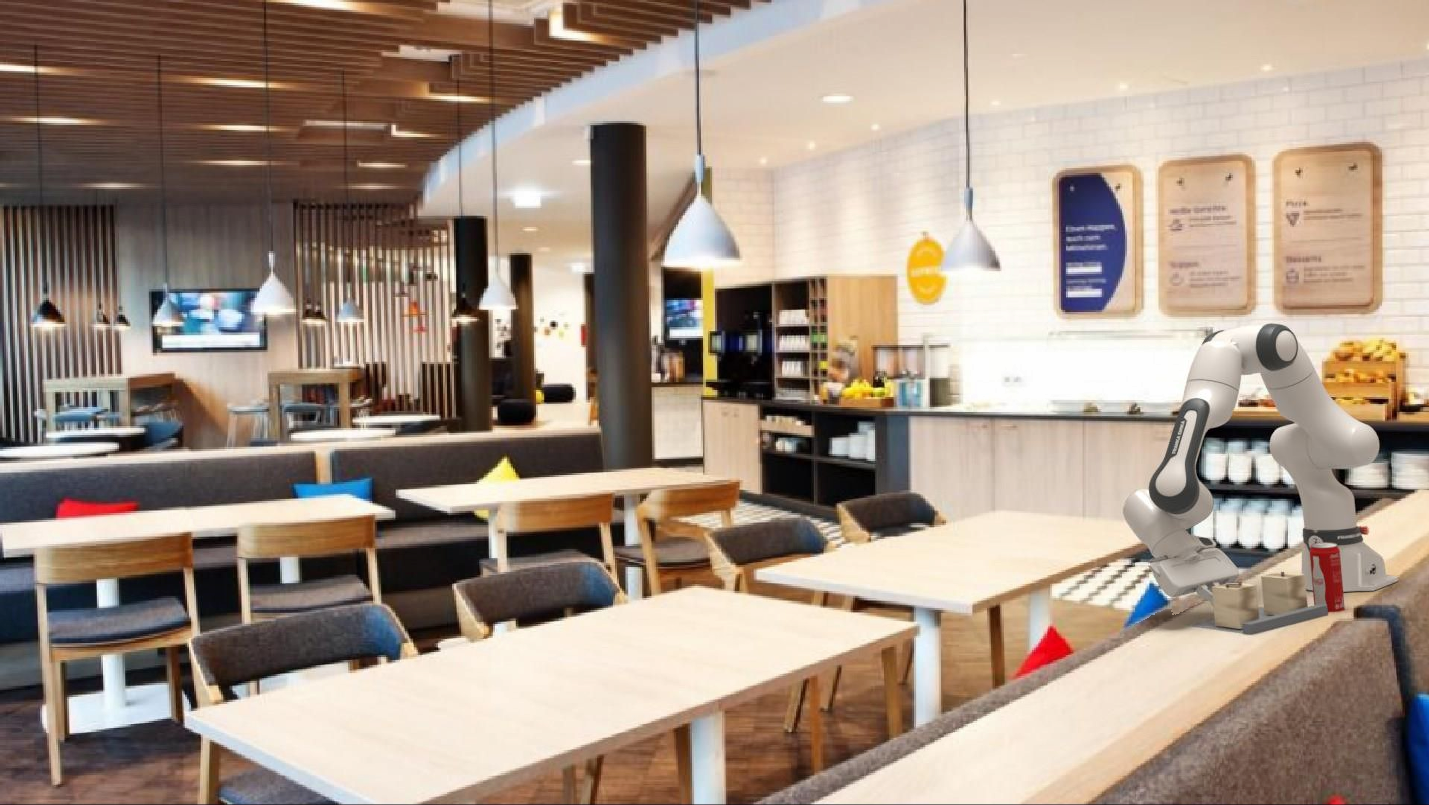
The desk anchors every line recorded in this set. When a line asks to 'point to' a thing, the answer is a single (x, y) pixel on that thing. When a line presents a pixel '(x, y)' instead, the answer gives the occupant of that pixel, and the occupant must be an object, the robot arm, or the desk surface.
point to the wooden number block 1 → (1283, 592)
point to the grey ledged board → (1269, 620)
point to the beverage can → (1327, 576)
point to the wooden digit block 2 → (1235, 604)
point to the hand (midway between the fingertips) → (1220, 603)
